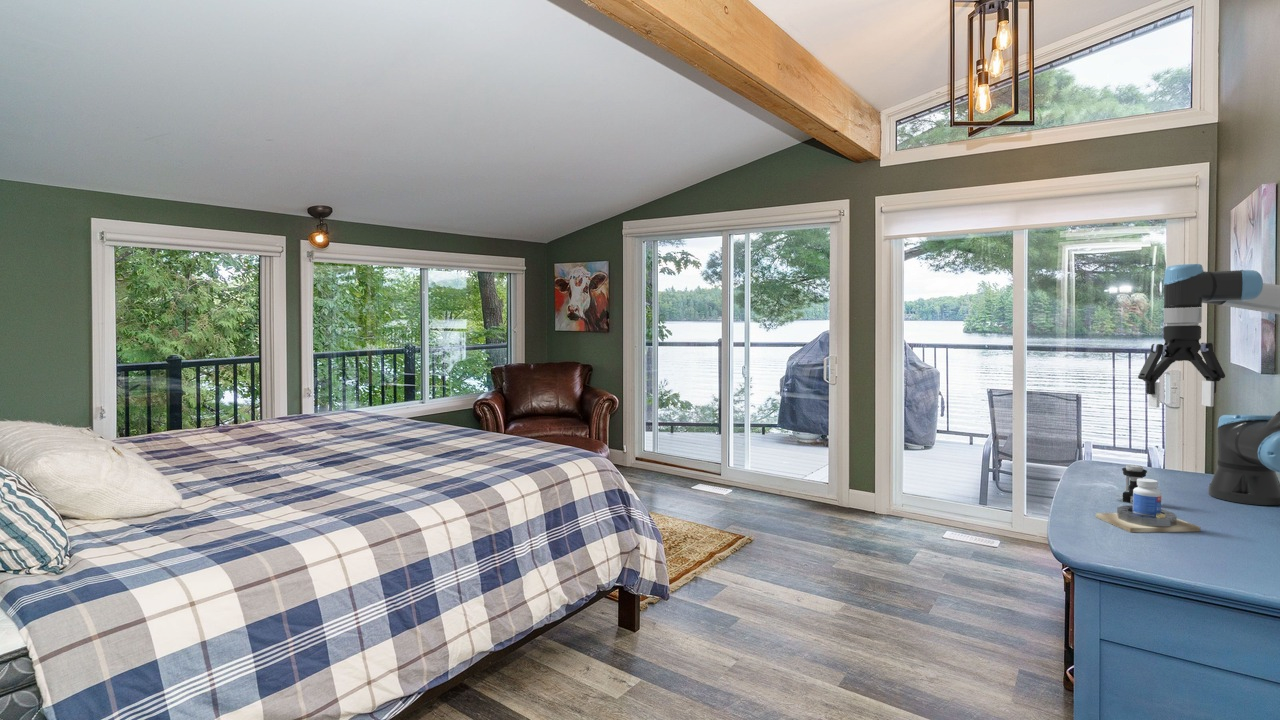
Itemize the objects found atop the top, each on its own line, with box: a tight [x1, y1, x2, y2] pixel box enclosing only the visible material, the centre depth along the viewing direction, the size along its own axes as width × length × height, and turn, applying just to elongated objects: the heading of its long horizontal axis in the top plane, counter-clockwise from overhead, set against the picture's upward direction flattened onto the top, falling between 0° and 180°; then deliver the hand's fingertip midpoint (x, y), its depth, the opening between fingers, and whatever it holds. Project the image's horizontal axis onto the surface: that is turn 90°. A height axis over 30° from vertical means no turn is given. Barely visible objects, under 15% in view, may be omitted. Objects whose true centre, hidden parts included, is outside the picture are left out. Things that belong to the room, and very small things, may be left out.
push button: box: [1115, 464, 1148, 504], centre depth 175 cm, size 7×5×10 cm
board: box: [1095, 512, 1201, 533], centre depth 156 cm, size 16×12×1 cm
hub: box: [1116, 505, 1178, 527], centre depth 156 cm, size 11×11×3 cm
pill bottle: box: [1132, 477, 1162, 516], centre depth 156 cm, size 6×5×10 cm
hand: (1180, 406), depth 168 cm, fingers open, 13 cm apart
